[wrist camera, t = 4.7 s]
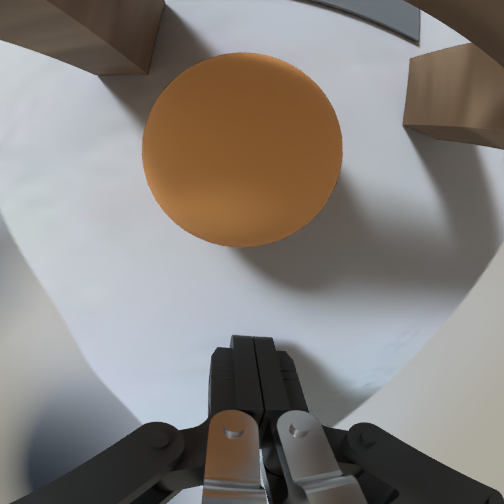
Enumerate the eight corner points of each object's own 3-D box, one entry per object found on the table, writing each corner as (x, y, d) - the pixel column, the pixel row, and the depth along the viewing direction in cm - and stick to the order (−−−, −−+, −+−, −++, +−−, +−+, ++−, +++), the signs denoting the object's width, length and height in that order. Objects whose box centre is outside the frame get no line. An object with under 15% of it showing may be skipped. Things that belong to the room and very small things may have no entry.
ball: (260, 275, 4) (249, 297, 9) (410, 93, 5) (343, 185, 10) (69, 107, 5) (138, 197, 9) (235, -2, 6) (236, 107, 10)
